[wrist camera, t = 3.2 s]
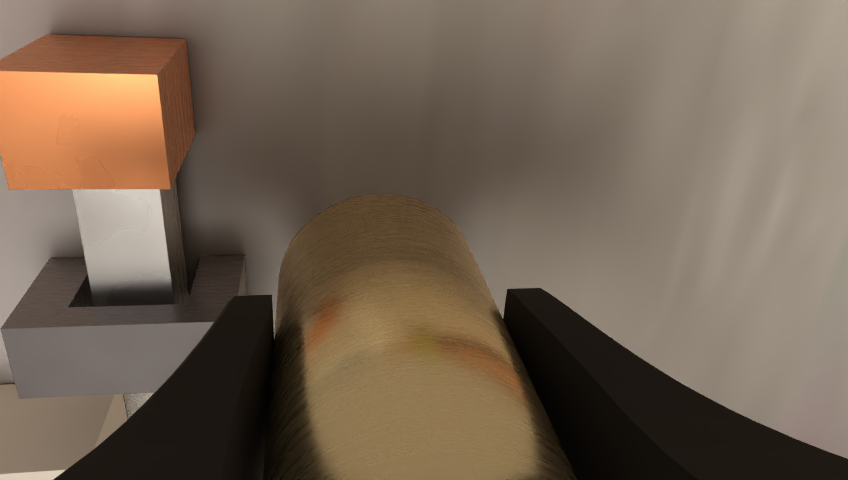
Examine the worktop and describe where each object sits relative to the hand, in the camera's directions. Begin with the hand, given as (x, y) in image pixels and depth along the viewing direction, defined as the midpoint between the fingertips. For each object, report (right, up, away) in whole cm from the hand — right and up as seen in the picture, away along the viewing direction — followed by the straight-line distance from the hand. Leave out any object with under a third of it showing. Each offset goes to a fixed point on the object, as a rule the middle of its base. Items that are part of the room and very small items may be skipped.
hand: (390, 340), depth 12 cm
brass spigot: (0, +1, +2) cm, 2 cm away
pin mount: (-6, +1, +4) cm, 7 cm away
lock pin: (-6, +3, +3) cm, 7 cm away
